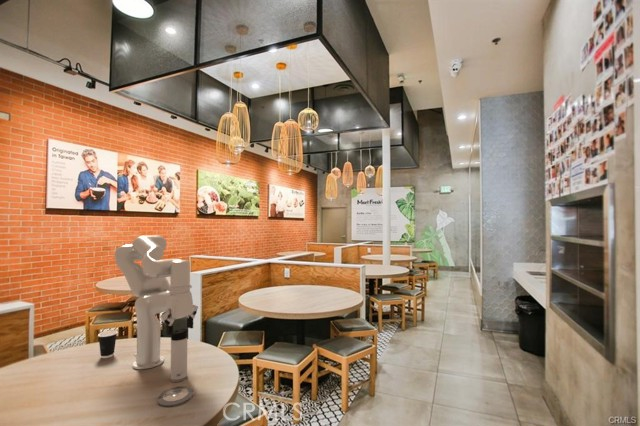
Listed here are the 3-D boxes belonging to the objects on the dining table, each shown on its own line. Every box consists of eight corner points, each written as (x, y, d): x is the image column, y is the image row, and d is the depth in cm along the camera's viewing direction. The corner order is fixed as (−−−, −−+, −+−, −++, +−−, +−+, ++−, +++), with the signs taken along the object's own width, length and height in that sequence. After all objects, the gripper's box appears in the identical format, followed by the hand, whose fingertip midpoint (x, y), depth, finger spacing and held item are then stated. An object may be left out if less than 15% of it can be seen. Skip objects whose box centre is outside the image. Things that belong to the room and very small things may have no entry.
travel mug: (181, 383, 124) (181, 332, 125) (167, 381, 126) (167, 331, 126) (190, 375, 130) (191, 327, 131) (177, 374, 132) (177, 326, 133)
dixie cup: (93, 360, 146) (94, 336, 147) (102, 353, 154) (103, 331, 155) (112, 358, 148) (112, 335, 148) (120, 352, 156) (120, 330, 156)
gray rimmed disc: (150, 401, 112) (150, 398, 112) (178, 385, 122) (179, 383, 122) (172, 410, 106) (172, 407, 106) (200, 393, 117) (200, 390, 117)
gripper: (191, 285, 139) (191, 324, 138) (155, 293, 123) (155, 336, 123) (203, 286, 135) (203, 326, 134) (167, 294, 120) (167, 339, 119)
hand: (180, 331), depth 129 cm, fingers open, 9 cm apart
